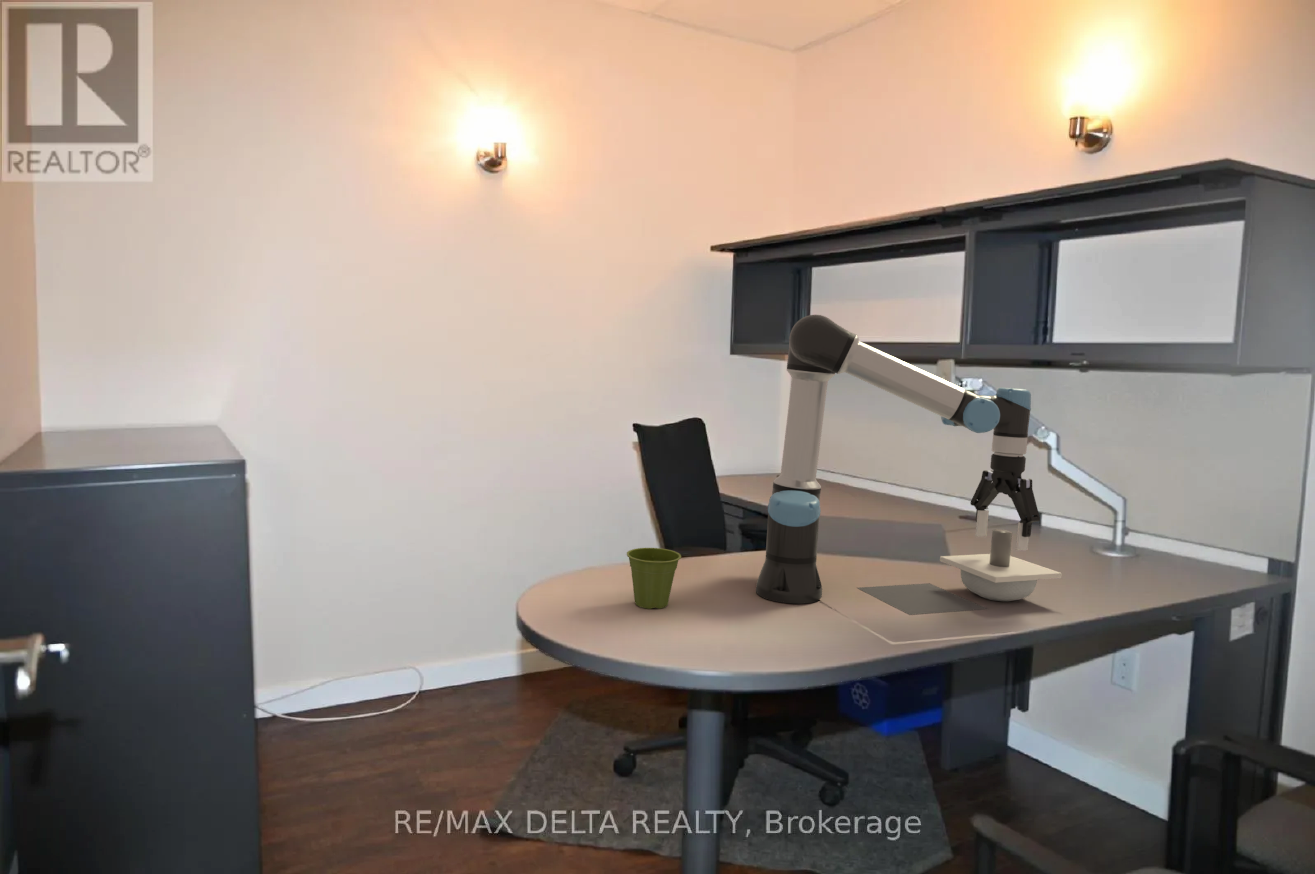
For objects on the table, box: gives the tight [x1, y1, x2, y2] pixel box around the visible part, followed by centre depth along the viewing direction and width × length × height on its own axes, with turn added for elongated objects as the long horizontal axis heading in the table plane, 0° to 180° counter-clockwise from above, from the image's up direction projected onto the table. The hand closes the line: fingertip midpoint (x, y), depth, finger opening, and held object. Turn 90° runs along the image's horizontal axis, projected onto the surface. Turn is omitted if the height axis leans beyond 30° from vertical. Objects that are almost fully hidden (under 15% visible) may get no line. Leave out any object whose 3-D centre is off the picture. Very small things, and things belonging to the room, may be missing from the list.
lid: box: [939, 528, 1063, 583], centre depth 203 cm, size 19×19×9 cm
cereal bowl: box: [960, 569, 1038, 602], centre depth 204 cm, size 17×17×7 cm
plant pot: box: [626, 547, 682, 610], centre depth 186 cm, size 12×12×11 cm
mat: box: [857, 582, 988, 616], centre depth 200 cm, size 21×21×1 cm
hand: (1000, 543), depth 203 cm, fingers open, 13 cm apart
